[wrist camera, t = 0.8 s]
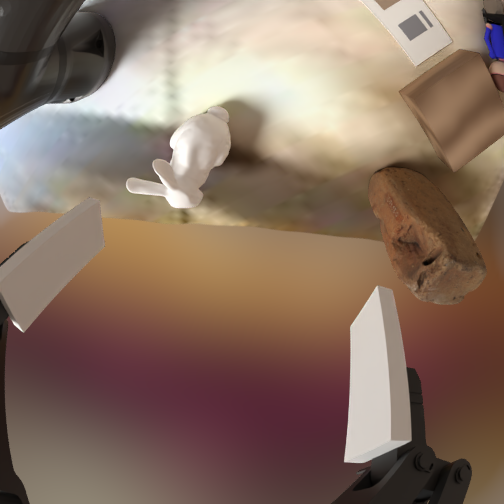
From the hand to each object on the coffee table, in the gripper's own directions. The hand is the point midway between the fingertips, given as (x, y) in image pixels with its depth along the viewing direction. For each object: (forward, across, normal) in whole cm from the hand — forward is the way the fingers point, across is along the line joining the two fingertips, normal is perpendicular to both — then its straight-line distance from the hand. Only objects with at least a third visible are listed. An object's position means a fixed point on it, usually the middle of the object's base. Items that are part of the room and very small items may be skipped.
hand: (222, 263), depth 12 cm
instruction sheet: (+27, +9, +24) cm, 37 cm away
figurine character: (+29, +24, +28) cm, 47 cm away
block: (+31, +17, -2) cm, 36 cm away
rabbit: (+27, -12, -4) cm, 30 cm away
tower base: (+29, +20, +14) cm, 38 cm away
